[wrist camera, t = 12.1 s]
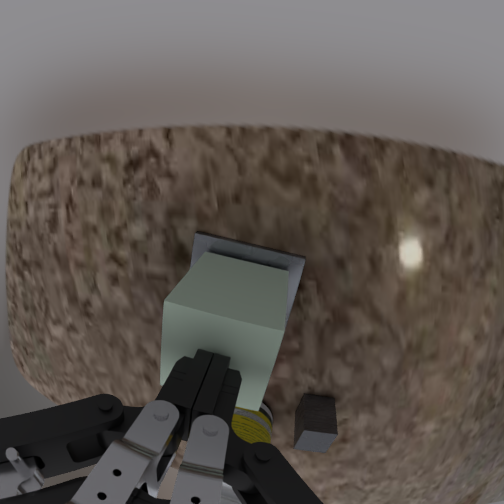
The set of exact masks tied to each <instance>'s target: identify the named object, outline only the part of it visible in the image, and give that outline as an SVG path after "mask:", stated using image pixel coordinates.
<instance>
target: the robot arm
mask: <svg viewBox="0 0 504 504" xmlns="http://www.w3.org/2000/svg"><path fill="white" fill-rule="evenodd" d="M230 359H231V357H228V356H224V355H221V354H217V353H215V354H214V353H213V352H209V351H206V350H202V349H198V350H197V352H196V354H195V356H194V358H190V357H186V356H183V357H182V358H181V359H179V360H178V361H176V363H175V365H174V366H173V368H172V371H171V372H170V374H169V376H168V377H167V379H166V381H165V383H164V385H163V387H162V389H161V390H160V392H159V394H158V396H157V398H156V399H155V401H152V402H149V403H148V404H147V405H146V406H144V407H129V406H123V405H122V403H121V401H120V400H119V399H118V398H117V397H115V396H113V395H110V394H99V395H96V396H92V397H89V398H85V399H82V400H78V401H74V402H71V403H67V404H63V405H59V406H55V407H51V408H47V409H43V410H39V411H34V412H30V413H25V414H21V415H16V416H12V417H7V418H1V419H0V504H220V497H221V491H222V484H223V482H224V483H226V484H228V485H230V486H232V489H233V491H234V493H235V494H236V496H237V497H238V499H239V500H240V502H241V503H242V504H323V503H322V502H321V501H320V499H319V498H318V497H317V496H316V495H315V494H314V493H313V491H312V490H311V489H310V488H309V487H308V486H307V484H306V483H305V482H304V481H303V480H302V478H301V477H300V476H299V475H298V474H297V472H296V471H295V470H294V469H293V468H292V466H291V465H290V464H289V463H288V461H287V460H286V459H285V458H284V456H283V455H282V454H281V453H280V451H279V450H278V449H277V448H276V447H275V446H273V445H272V444H269V443H266V442H254V443H252V444H251V443H249V442H247V441H245V440H243V439H241V438H240V437H238V436H237V435H236V434H235V432H234V431H233V429H232V424H231V423H232V418H233V414H234V410H235V406H236V402H237V398H238V394H239V390H240V386H241V382H242V378H241V375H240V371H238V370H234V369H230V368H229V364H230ZM188 438H189V439H188ZM181 440H184V441H188V442H187V446H186V450H185V454H184V457H183V461H182V464H181V465H180V468H179V471H178V475H177V478H176V482H175V486H174V490H173V494H172V498H171V500H165V499H158V498H156V497H157V494H158V490H159V487H160V484H161V482H162V481H163V479H164V477H165V475H166V473H167V471H168V469H169V467H170V465H171V463H172V461H173V459H174V457H175V455H176V453H177V449H178V447H179V444H180V442H181ZM94 464H96V466H95V467H94V469H93V470H92V472H91V473H90V474H89V476H85V477H79V478H75V479H72V480H69V481H66V482H63V483H60V484H57V485H53V486H50V487H46V488H43V489H41V487H42V486H43V484H44V479H45V478H49V477H53V476H56V475H60V474H64V473H68V472H71V471H75V470H77V469H81V468H84V467H88V466H91V465H94Z"/></svg>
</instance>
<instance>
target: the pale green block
mask: <svg viewBox="0 0 504 504" xmlns="http://www.w3.org/2000/svg"><path fill="white" fill-rule="evenodd" d="M288 275H289V271H285V270H281V269H277V268H273V267H268V266H264V265H260V264H256V263H251V262H247V261H243V260H239V259H234V258H230V257H226V256H222V255H218V254H214V253H209V252H204V254H203V255H202V256H201V257H200V258H199V259H198V261H197V262H196V263H195V264H194V265H193V267H192V268H191V269H190V270H189V271H188V272H187V274H186V275H185V276H184V277H183V278H182V280H181V281H180V282H179V283H178V284H177V285H176V287H175V288H174V289H173V290H172V291H171V293H170V294H169V295H168V296H167V297H166V299H165V300H164V308H163V323H162V342H161V369H160V385H164V383H165V381H166V379H167V377H168V376H169V374H170V372H171V371H172V368H173V366H174V365H175V363H176V361H178V360H179V359H181V358H182V357H183V356H186V357H190V358H194V356H195V354H196V352H197V350H198V349H202V350H206V351H209V352H213V353H214V354H215V353H217V354H221V355H224V356H228V357H231V359H230V364H229V368H230V369H234V370H238V371H240V375H241V378H242V382H241V386H240V390H239V394H238V398H237V402H236V407H240V408H245V409H249V410H254V411H259V408H260V405H261V402H262V399H263V396H264V393H265V391H266V388H267V385H268V382H269V379H270V376H271V373H272V369H273V366H274V363H275V360H276V357H277V354H278V351H279V348H280V345H281V341H282V338H283V335H284V332H285V320H286V306H287V291H288Z"/></svg>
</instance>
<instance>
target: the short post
mask: <svg viewBox="0 0 504 504" xmlns="http://www.w3.org/2000/svg"><path fill="white" fill-rule="evenodd" d="M337 435H338V431H337V420H336V409H335V399H334V398H329V397H323V396H317V395H311V394H305V393H304V395H303V398H302V400H301V402H300V404H299V406H298V408H297V411H296V413H295V430H294V448H293V449H298V450H306V451H313V452H322V453H325V452H326V451H327V450H328V448H329V447H330V445H331V444H332V442H333V441H334V439H335V438H336V436H337Z"/></svg>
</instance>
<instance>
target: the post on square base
mask: <svg viewBox="0 0 504 504" xmlns="http://www.w3.org/2000/svg"><path fill="white" fill-rule="evenodd" d="M204 252H209V253H214V254H218V255H222V256H226V257H230V258H234V259H239V260H243V261H247V262H251V263H256V264H260V265H264V266H268V267H273V268H277V269H281V270H285V271H289V275H288V291H287V306H286V320H285V328H286V325H287V321H288V318H289V315H290V312H291V308H292V305H293V302H294V298H295V295H296V291H297V288H298V285H299V281H300V278H301V274H302V271H303V267H304V264H305V260H306V257H305V256H301V255H297V254H292V253H288V252H284V251H280V250H276V249H271V248H267V247H263V246H259V245H255V244H250V243H246V242H242V241H238V240H233V239H229V238H225V237H221V236H216V235H212V234H208V233H204V232H199V231H197V232H196V233H195V237H194V244H193V251H192V258H191V265H190V269H191V268H192V267H193V265H194V264H195V263H196V262H197V261H198V259H199V258H200V257H201V256H202V255H203V254H204Z"/></svg>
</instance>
